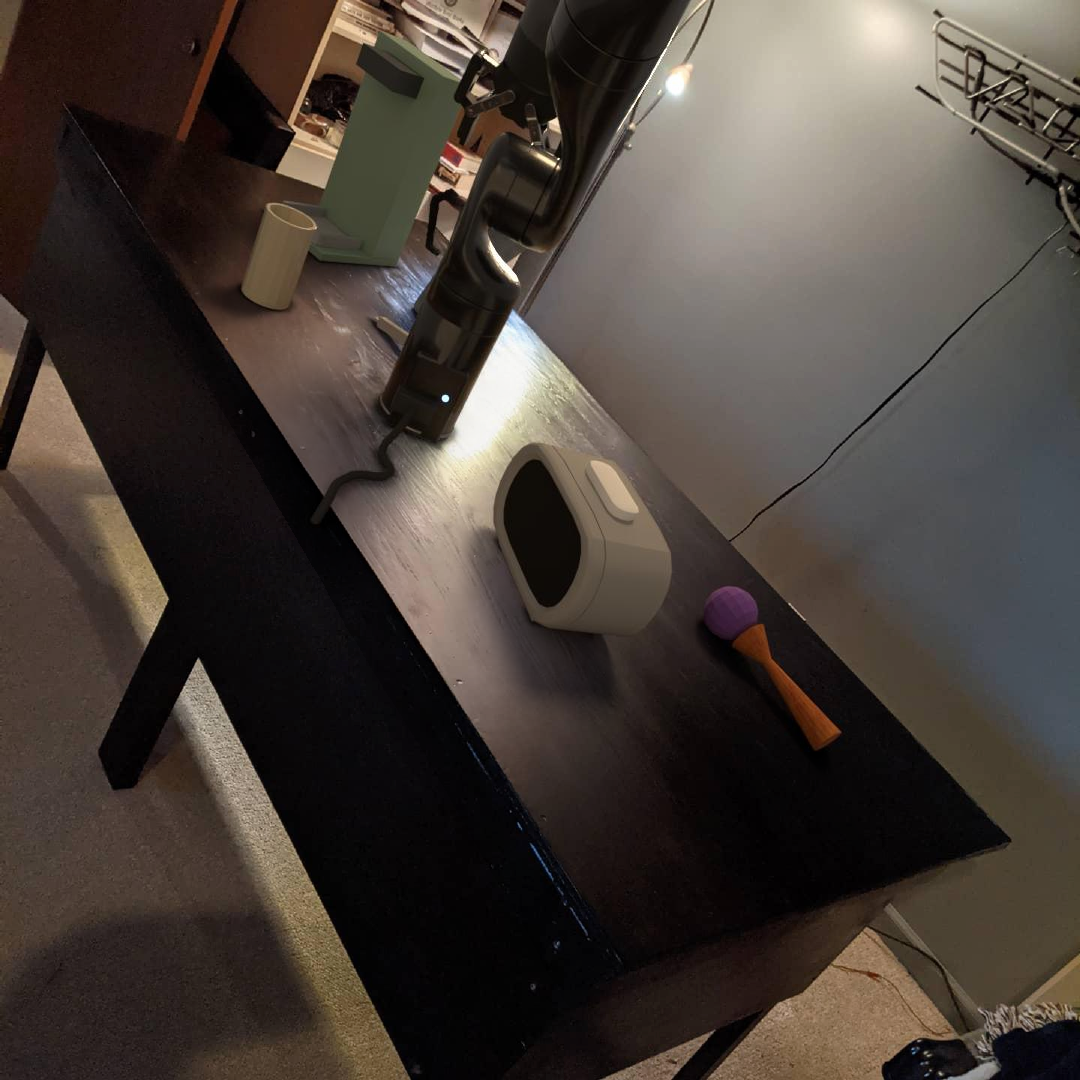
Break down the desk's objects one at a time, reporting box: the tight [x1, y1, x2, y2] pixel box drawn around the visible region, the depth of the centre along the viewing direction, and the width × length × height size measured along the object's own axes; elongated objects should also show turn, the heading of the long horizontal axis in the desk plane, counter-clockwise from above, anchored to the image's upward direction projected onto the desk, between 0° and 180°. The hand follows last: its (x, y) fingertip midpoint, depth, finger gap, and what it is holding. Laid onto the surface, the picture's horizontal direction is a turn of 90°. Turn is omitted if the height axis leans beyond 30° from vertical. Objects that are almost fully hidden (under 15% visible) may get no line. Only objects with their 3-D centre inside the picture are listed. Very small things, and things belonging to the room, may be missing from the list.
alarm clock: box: [492, 441, 673, 638], centre depth 84 cm, size 21×10×13 cm, turn 21°
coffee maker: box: [264, 30, 462, 268], centre depth 125 cm, size 16×14×29 cm
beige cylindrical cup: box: [240, 202, 317, 311], centre depth 104 cm, size 6×6×11 cm
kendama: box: [702, 585, 842, 752], centre depth 91 cm, size 6×6×20 cm
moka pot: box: [413, 187, 529, 315], centre depth 122 cm, size 10×15×20 cm, turn 89°
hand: (494, 163), depth 101 cm, fingers open, 8 cm apart
